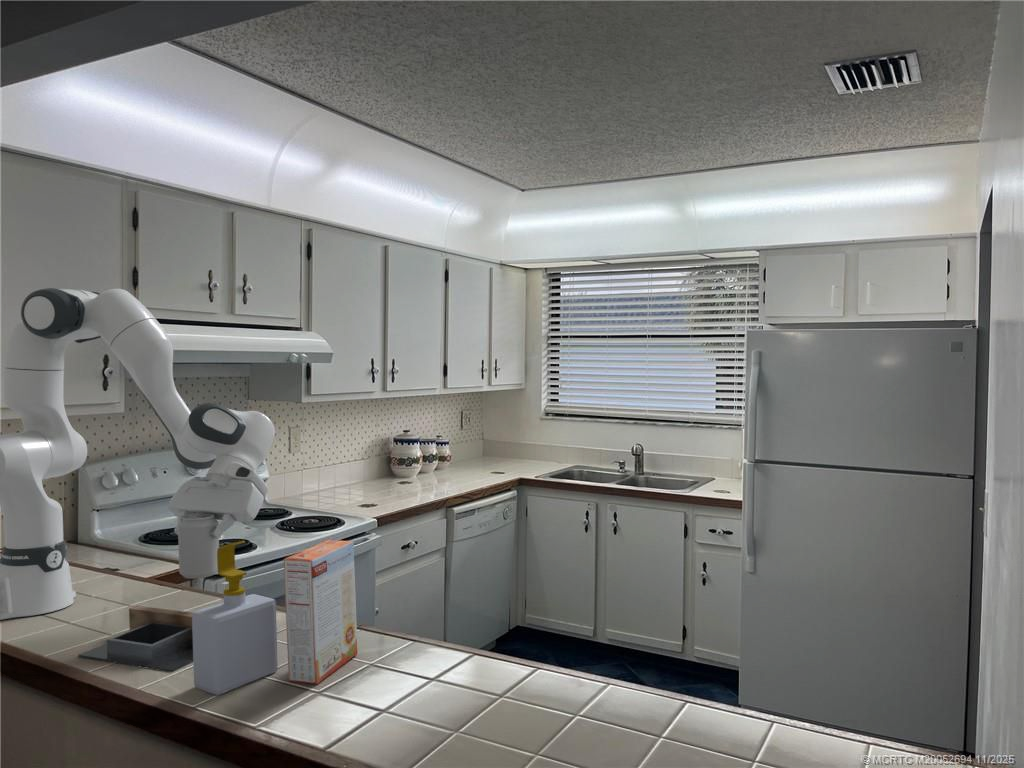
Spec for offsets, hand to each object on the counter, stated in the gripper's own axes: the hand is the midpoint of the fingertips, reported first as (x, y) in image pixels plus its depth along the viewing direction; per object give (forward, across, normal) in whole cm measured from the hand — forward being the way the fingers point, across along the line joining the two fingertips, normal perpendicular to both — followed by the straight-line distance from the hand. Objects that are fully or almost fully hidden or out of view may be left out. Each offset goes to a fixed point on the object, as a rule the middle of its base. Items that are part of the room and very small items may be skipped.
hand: (196, 535), depth 156 cm
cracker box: (+20, +35, +8) cm, 41 cm away
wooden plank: (+17, 0, +10) cm, 20 cm away
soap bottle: (+26, +24, +1) cm, 35 cm away
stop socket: (+22, 0, +5) cm, 22 cm away
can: (+5, 0, +6) cm, 8 cm away
